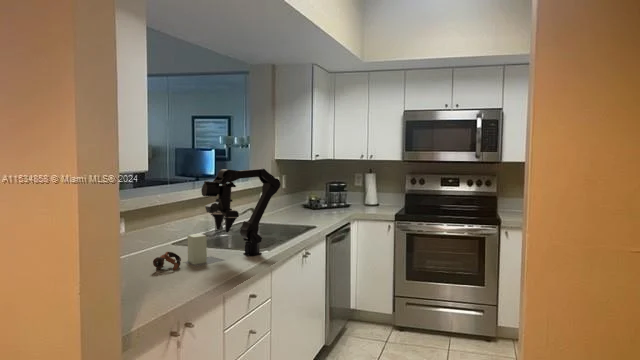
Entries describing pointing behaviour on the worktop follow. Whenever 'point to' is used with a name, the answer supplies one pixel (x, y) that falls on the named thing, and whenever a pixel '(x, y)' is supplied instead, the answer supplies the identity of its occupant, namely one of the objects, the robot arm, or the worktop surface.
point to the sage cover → (197, 248)
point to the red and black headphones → (159, 261)
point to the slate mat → (209, 261)
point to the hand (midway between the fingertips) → (222, 230)
